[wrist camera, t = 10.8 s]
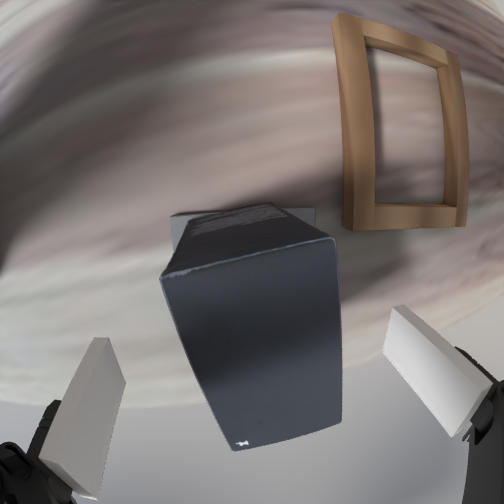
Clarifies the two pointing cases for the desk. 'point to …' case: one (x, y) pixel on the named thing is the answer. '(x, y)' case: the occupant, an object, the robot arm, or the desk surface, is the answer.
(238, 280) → the small box
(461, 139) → the wooden frame
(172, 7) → the desk surface
